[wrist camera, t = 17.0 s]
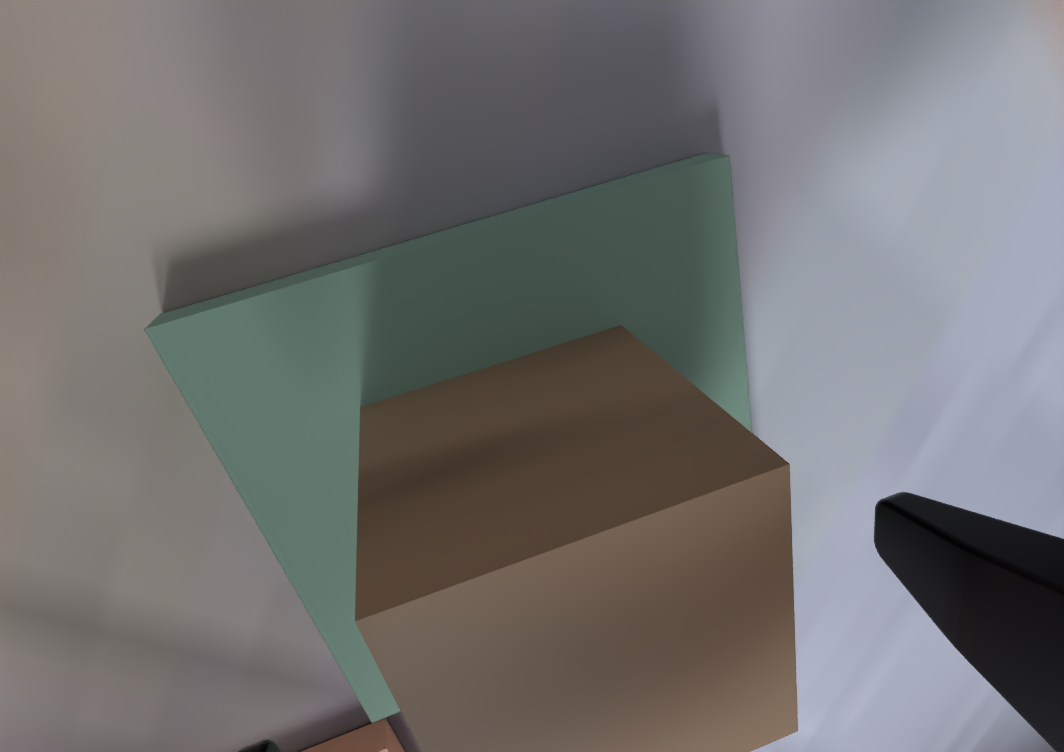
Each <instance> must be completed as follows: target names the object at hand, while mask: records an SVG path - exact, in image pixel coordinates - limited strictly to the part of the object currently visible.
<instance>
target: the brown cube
mask: <svg viewBox="0 0 1064 752" xmlns="http://www.w3.org/2000/svg"><path fill="white" fill-rule="evenodd" d="M355 623H356V625H357V627H358V629H359V631H360V633H361V635H362V637H363V639H364V641H365V642H366V644H367V646H368V648H369V650H370V652H371V654H372V656H373V658H374V660H375V662H376V664H377V666H378V668H379V670H380V672H381V674H382V676H383V678H384V680H385V682H386V684H387V686H388V688H389V689H390V691H391V693H392V695H393V697H394V699H395V701H396V703H397V705H398V707H399V709H400V711H401V713H402V715H403V717H404V719H405V721H406V723H407V725H408V727H409V729H410V731H411V733H412V734H413V736H414V738H415V740H416V742H417V744H418V746H419V748H420V750H421V752H750V751H753V750H755V749H757V748H760V747H762V746H764V745H767V744H769V743H771V742H774V741H776V740H778V739H781V738H783V737H785V736H788V735H790V734H792V733H795V732H797V731H798V717H797V685H796V653H795V621H794V589H793V557H792V526H791V494H790V464H789V463H788V462H787V461H785V460H784V459H783V458H782V457H781V456H779V455H778V454H777V453H776V452H774V451H773V450H772V449H771V448H770V447H768V446H767V445H766V444H765V443H764V442H762V441H761V440H760V439H759V438H758V437H756V436H755V435H754V434H753V433H751V432H750V431H749V430H748V429H747V428H745V427H744V426H743V425H742V424H741V423H739V422H738V421H737V420H736V419H735V418H733V417H732V416H731V415H730V414H728V413H727V412H726V411H725V410H724V409H722V408H721V407H720V406H719V405H718V404H716V403H715V402H714V401H713V400H712V399H710V398H709V397H708V396H707V395H705V394H704V393H703V392H702V391H701V390H699V389H698V388H697V387H696V386H695V385H693V384H692V383H691V382H690V381H689V380H687V379H686V378H685V377H684V376H682V375H681V374H680V373H679V372H678V371H676V370H675V369H674V368H673V367H672V366H670V365H669V364H668V363H667V362H666V361H664V360H663V359H662V358H661V357H659V356H658V355H657V354H656V353H655V352H653V351H652V350H651V349H650V348H649V347H647V346H646V345H645V344H644V343H643V342H641V341H640V340H639V339H638V338H636V337H635V336H634V335H633V334H632V333H630V332H629V331H628V330H627V329H626V328H624V327H623V326H622V325H620V326H617V327H613V328H610V329H607V330H604V331H601V332H598V333H594V334H591V335H588V336H585V337H582V338H578V339H575V340H572V341H569V342H566V343H563V344H559V345H556V346H553V347H550V348H547V349H544V350H540V351H537V352H534V353H531V354H528V355H525V356H521V357H518V358H515V359H512V360H509V361H506V362H502V363H499V364H496V365H493V366H490V367H486V368H483V369H480V370H477V371H474V372H471V373H467V374H464V375H461V376H458V377H455V378H452V379H448V380H445V381H442V382H439V383H436V384H433V385H429V386H426V387H423V388H420V389H417V390H414V391H410V392H407V393H404V394H401V395H398V396H394V397H391V398H388V399H385V400H382V401H379V402H375V403H372V404H369V405H366V406H363V407H360V428H359V469H358V510H357V551H356V593H355Z"/></svg>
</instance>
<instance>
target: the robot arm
mask: <svg viewBox="0 0 1064 752" xmlns="http://www.w3.org/2000/svg"><path fill="white" fill-rule="evenodd" d="M874 543H875V547H876V549H877V552H878V553H879V555H880V557H881V558H882V559H883V561H884V562H885V563H886V564H887V565H888V567H889V568H890V569H891V570H892V572H893V573H894V574H895V575H896V577H897V578H898V579H899V580H900V581H901V583H902V584H903V585H904V586H905V588H906V589H907V590H908V591H909V592H910V594H911V595H912V596H913V597H914V599H915V600H916V601H917V602H918V603H919V605H920V606H921V607H922V608H923V610H924V611H925V612H926V613H927V614H928V616H929V617H930V618H931V619H932V621H933V622H934V623H935V624H936V626H937V627H938V628H939V629H940V630H941V632H942V633H943V634H944V635H945V636H946V637H947V639H948V640H949V641H950V642H951V643H952V644H953V646H954V647H955V648H956V649H957V650H958V651H959V652H960V653H961V654H962V655H963V656H964V657H965V658H966V659H967V661H968V662H969V663H970V664H971V665H972V666H973V667H974V668H975V669H976V670H977V671H978V672H979V673H980V674H981V675H982V676H983V677H984V678H985V679H986V680H987V681H988V682H989V683H990V684H991V685H992V686H993V687H994V688H995V689H996V690H997V691H998V692H999V693H1000V694H1001V695H1002V696H1003V697H1004V698H1005V700H1006V701H1007V702H1008V703H1009V704H1010V705H1011V706H1012V707H1013V708H1014V709H1015V710H1016V711H1017V712H1018V713H1019V714H1020V715H1021V716H1022V717H1023V718H1024V719H1025V720H1026V721H1027V722H1028V723H1029V724H1030V725H1031V726H1032V727H1033V728H1034V729H1035V730H1036V731H1037V732H1038V733H1039V734H1040V735H1041V736H1042V737H1043V738H1044V739H1045V740H1046V742H1047V743H1048V744H1049V745H1050V746H1051V747H1052V748H1053V749H1054V750H1055V751H1056V752H1064V539H1062V538H1059V537H1055V536H1052V535H1049V534H1045V533H1042V532H1039V531H1035V530H1032V529H1029V528H1025V527H1022V526H1019V525H1015V524H1012V523H1009V522H1005V521H1002V520H999V519H995V518H992V517H988V516H985V515H982V514H978V513H975V512H972V511H968V510H965V509H962V508H958V507H955V506H952V505H948V504H945V503H942V502H938V501H935V500H932V499H928V498H925V497H922V496H918V495H915V494H911V493H907V492H900V493H896V494H894V495H891V496H889V497H886V498H884V499H881V500H880V501H878V503H877V504H876V507H875V526H874ZM238 752H281V751H280V749H279V748H278V746H277V745H276V744H275V743H274V742H273V741H271V740H263V741H261V742H258V743H256V744H253V745H250V746H248V747H245V748H243V749H241V750H239V751H238Z"/></svg>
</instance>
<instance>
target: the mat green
mask: <svg viewBox="0 0 1064 752" xmlns="http://www.w3.org/2000/svg"><path fill="white" fill-rule="evenodd" d="M620 325H622V326H623V327H624V328H626V329H627V330H628V331H629V332H630V333H632V334H633V335H634V336H635V337H636V338H638V339H639V340H640V341H641V342H643V343H644V344H645V345H646V346H647V347H649V348H650V349H651V350H652V351H653V352H655V353H656V354H657V355H658V356H659V357H661V358H662V359H663V360H664V361H666V362H667V363H668V364H669V365H670V366H672V367H673V368H674V369H675V370H676V371H678V372H679V373H680V374H681V375H682V376H684V377H685V378H686V379H687V380H689V381H690V382H691V383H692V384H693V385H695V386H696V387H697V388H698V389H699V390H701V391H702V392H703V393H704V394H705V395H707V396H708V397H709V398H710V399H712V400H713V401H714V402H715V403H716V404H718V405H719V406H720V407H721V408H722V409H724V410H725V411H726V412H727V413H728V414H730V415H731V416H732V417H733V418H735V419H736V420H737V421H738V422H739V423H741V424H742V425H743V426H744V427H745V428H747V429H748V430H749V431H750V432H751V420H750V407H749V395H748V382H747V369H746V357H745V344H744V331H743V319H742V306H741V293H740V281H739V268H738V255H737V243H736V230H735V217H734V205H733V192H732V180H731V167H730V155H722V154H713V153H704V154H700V155H697V156H694V157H690V158H687V159H683V160H680V161H677V162H673V163H670V164H667V165H663V166H660V167H656V168H653V169H650V170H646V171H643V172H639V173H636V174H633V175H629V176H626V177H622V178H619V179H616V180H612V181H609V182H606V183H602V184H599V185H595V186H592V187H589V188H585V189H582V190H578V191H575V192H572V193H568V194H565V195H561V196H558V197H555V198H551V199H548V200H545V201H541V202H538V203H534V204H531V205H528V206H524V207H521V208H517V209H514V210H511V211H507V212H504V213H500V214H497V215H494V216H490V217H487V218H484V219H480V220H477V221H473V222H470V223H467V224H463V225H460V226H456V227H453V228H450V229H446V230H443V231H439V232H436V233H433V234H429V235H426V236H423V237H419V238H416V239H412V240H409V241H406V242H402V243H399V244H395V245H392V246H389V247H385V248H382V249H378V250H375V251H372V252H368V253H365V254H362V255H358V256H355V257H351V258H348V259H345V260H341V261H338V262H334V263H331V264H328V265H324V266H321V267H317V268H314V269H311V270H307V271H304V272H301V273H297V274H294V275H290V276H287V277H284V278H280V279H277V280H273V281H270V282H267V283H263V284H260V285H256V286H253V287H250V288H246V289H243V290H239V291H236V292H233V293H229V294H226V295H223V296H219V297H216V298H212V299H209V300H206V301H202V302H199V303H195V304H192V305H189V306H185V307H182V308H178V309H175V310H172V311H168V312H165V313H162V314H160V315H159V316H158V317H157V318H155V319H154V320H153V321H152V322H151V323H150V324H149V325H148V326H147V327H146V328H145V329H144V330H145V332H146V333H147V335H148V337H149V339H150V340H151V342H152V344H153V345H154V347H155V349H156V351H157V352H158V354H159V356H160V358H161V359H162V361H163V363H164V364H165V366H166V368H167V370H168V371H169V373H170V375H171V377H172V378H173V380H174V382H175V383H176V385H177V387H178V389H179V390H180V392H181V394H182V396H183V397H184V399H185V401H186V402H187V404H188V406H189V408H190V409H191V411H192V413H193V415H194V416H195V418H196V420H197V421H198V423H199V425H200V427H201V428H202V430H203V432H204V434H205V435H206V437H207V439H208V440H209V442H210V444H211V446H212V447H213V449H214V451H215V453H216V454H217V456H218V458H219V460H220V461H221V463H222V465H223V466H224V468H225V470H226V472H227V473H228V475H229V477H230V479H231V480H232V482H233V484H234V485H235V487H236V489H237V491H238V492H239V494H240V496H241V498H242V499H243V501H244V503H245V504H246V506H247V508H248V510H249V511H250V513H251V515H252V517H253V518H254V520H255V522H256V523H257V525H258V527H259V529H260V530H261V532H262V534H263V536H264V537H265V539H266V541H267V542H268V544H269V546H270V548H271V549H272V551H273V553H274V555H275V556H276V558H277V560H278V561H279V563H280V565H281V567H282V568H283V570H284V572H285V574H286V575H287V577H288V579H289V581H290V582H291V584H292V586H293V587H294V589H295V591H296V593H297V594H298V596H299V598H300V600H301V601H302V603H303V605H304V606H305V608H306V610H307V612H308V613H309V615H310V617H311V619H312V620H313V622H314V624H315V625H316V627H317V629H318V631H319V632H320V634H321V636H322V638H323V639H324V641H325V643H326V644H327V646H328V648H329V650H330V651H331V653H332V655H333V657H334V658H335V660H336V662H337V663H338V665H339V667H340V669H341V670H342V672H343V674H344V676H345V677H346V679H347V681H348V682H349V684H350V686H351V688H352V689H353V691H354V693H355V695H356V696H357V698H358V700H359V702H360V703H361V705H362V707H363V708H364V710H365V712H366V714H367V715H368V717H369V719H370V721H371V722H372V723H373V722H375V721H378V720H380V719H383V718H385V717H388V716H390V715H393V714H395V713H398V712H401V711H400V709H399V707H398V705H397V703H396V701H395V699H394V697H393V695H392V693H391V691H390V689H389V688H388V686H387V684H386V682H385V680H384V678H383V676H382V674H381V672H380V670H379V668H378V666H377V664H376V662H375V660H374V658H373V656H372V654H371V652H370V650H369V648H368V646H367V644H366V642H365V641H364V639H363V637H362V635H361V633H360V631H359V629H358V627H357V625H356V623H355V593H356V551H357V510H358V469H359V428H360V407H363V406H366V405H369V404H372V403H375V402H379V401H382V400H385V399H388V398H391V397H394V396H398V395H401V394H404V393H407V392H410V391H414V390H417V389H420V388H423V387H426V386H429V385H433V384H436V383H439V382H442V381H445V380H448V379H452V378H455V377H458V376H461V375H464V374H467V373H471V372H474V371H477V370H480V369H483V368H486V367H490V366H493V365H496V364H499V363H502V362H506V361H509V360H512V359H515V358H518V357H521V356H525V355H528V354H531V353H534V352H537V351H540V350H544V349H547V348H550V347H553V346H556V345H559V344H563V343H566V342H569V341H572V340H575V339H578V338H582V337H585V336H588V335H591V334H594V333H598V332H601V331H604V330H607V329H610V328H613V327H617V326H620Z"/></svg>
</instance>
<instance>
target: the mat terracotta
mask: <svg viewBox="0 0 1064 752" xmlns="http://www.w3.org/2000/svg"><path fill="white" fill-rule="evenodd" d="M301 752H404V750H403V748H402V746H401V744H400V743H399V741H398V739H397V737H396V735H395V734H394V732H393V730H392V728H391V726H390V725H389V723H388V721H387V719H386V718H384V719H382V720H379V721H377V722H374V723H372V724H369V725H367V726H364V727H362V728H359V729H356V730H354V731H351V732H349V733H346V734H344V735H341V736H339V737H336V738H334V739H331V740H329V741H326V742H324V743H321V744H319V745H316V746H314V747H311V748H309V749H306V750H303V751H301Z"/></svg>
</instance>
